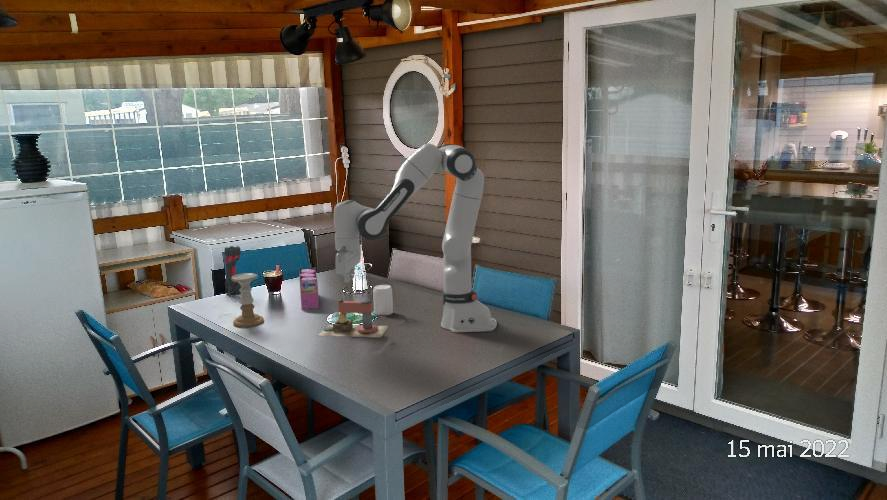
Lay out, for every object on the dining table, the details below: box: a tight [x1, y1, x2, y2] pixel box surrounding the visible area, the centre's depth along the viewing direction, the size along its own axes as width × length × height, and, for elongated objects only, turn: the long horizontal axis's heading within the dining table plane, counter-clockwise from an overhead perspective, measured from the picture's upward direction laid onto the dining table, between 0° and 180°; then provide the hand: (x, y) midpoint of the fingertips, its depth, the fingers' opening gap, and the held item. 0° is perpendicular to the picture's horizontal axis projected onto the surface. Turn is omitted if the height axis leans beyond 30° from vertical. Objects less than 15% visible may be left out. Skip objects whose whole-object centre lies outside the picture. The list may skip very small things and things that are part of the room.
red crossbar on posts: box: [337, 299, 379, 333], centre depth 250 cm, size 15×8×12 cm, turn 81°
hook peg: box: [337, 312, 348, 325], centre depth 252 cm, size 3×3×7 cm
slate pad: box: [322, 326, 333, 331], centre depth 253 cm, size 4×4×1 cm
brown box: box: [332, 319, 354, 333], centre depth 252 cm, size 6×6×3 cm
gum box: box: [298, 267, 320, 310], centre depth 295 cm, size 24×8×14 cm, turn 13°
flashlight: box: [224, 245, 242, 296], centre depth 312 cm, size 8×8×23 cm
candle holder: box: [231, 272, 265, 328], centre depth 266 cm, size 12×12×20 cm
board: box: [317, 323, 390, 338], centre depth 251 cm, size 25×13×2 cm, turn 81°
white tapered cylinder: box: [372, 284, 394, 316], centre depth 274 cm, size 8×8×12 cm
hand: (349, 280), depth 241 cm, fingers open, 4 cm apart
